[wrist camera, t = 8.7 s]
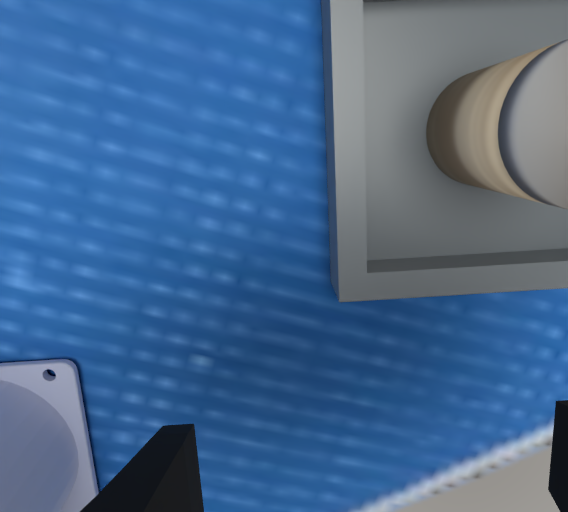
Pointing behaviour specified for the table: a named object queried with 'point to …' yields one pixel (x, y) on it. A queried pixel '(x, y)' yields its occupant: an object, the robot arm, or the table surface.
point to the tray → (426, 152)
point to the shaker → (507, 127)
